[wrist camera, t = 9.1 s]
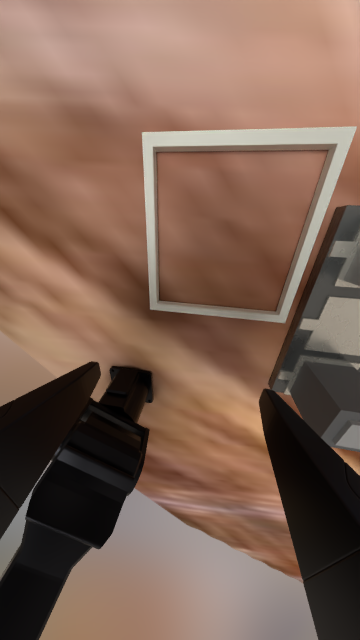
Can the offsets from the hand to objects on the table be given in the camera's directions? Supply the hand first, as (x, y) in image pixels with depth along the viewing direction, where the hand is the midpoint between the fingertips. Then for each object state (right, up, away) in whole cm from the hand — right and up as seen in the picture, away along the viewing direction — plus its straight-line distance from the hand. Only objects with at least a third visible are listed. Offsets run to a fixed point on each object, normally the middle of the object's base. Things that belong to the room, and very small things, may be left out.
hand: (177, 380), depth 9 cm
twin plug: (+16, -4, +11) cm, 20 cm away
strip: (+17, +3, +9) cm, 19 cm away
